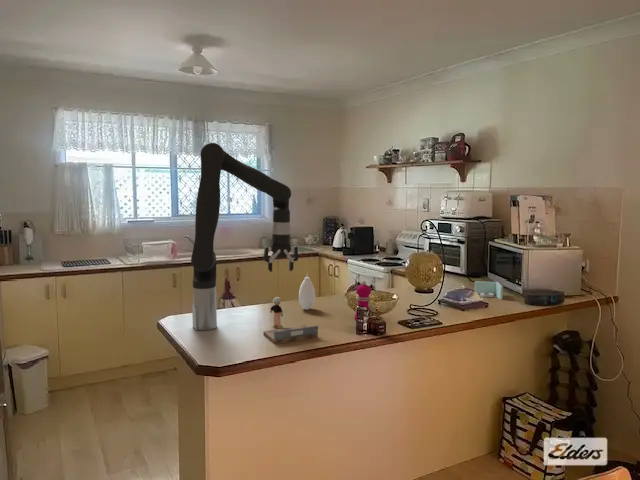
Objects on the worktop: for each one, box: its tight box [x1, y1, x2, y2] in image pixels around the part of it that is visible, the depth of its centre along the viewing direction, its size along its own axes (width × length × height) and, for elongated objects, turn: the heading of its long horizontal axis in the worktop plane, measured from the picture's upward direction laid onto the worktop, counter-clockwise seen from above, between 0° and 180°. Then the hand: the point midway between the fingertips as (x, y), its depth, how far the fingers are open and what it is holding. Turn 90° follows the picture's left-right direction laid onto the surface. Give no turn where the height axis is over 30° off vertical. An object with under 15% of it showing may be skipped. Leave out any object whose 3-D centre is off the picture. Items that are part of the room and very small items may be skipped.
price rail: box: [274, 325, 319, 340], centre depth 185 cm, size 18×1×3 cm, turn 117°
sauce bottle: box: [298, 273, 316, 311], centre depth 229 cm, size 8×8×18 cm
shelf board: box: [262, 324, 319, 345], centre depth 190 cm, size 18×12×2 cm, turn 117°
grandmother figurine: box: [269, 296, 284, 329], centre depth 202 cm, size 8×4×13 cm, turn 58°
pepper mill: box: [354, 280, 372, 322], centre depth 200 cm, size 7×7×20 cm
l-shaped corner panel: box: [474, 280, 504, 301], centre depth 257 cm, size 12×12×8 cm
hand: (280, 271), depth 204 cm, fingers open, 8 cm apart
